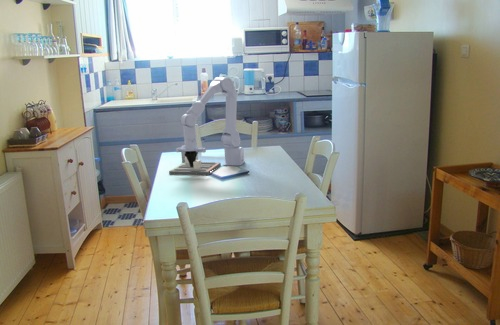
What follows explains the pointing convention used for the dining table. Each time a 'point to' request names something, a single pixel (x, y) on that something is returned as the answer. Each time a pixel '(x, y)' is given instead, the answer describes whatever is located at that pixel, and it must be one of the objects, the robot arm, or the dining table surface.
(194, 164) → the block
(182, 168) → the breaker panel
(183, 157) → the medicine box
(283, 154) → the dining table surface
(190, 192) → the dining table surface
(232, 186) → the dining table surface
